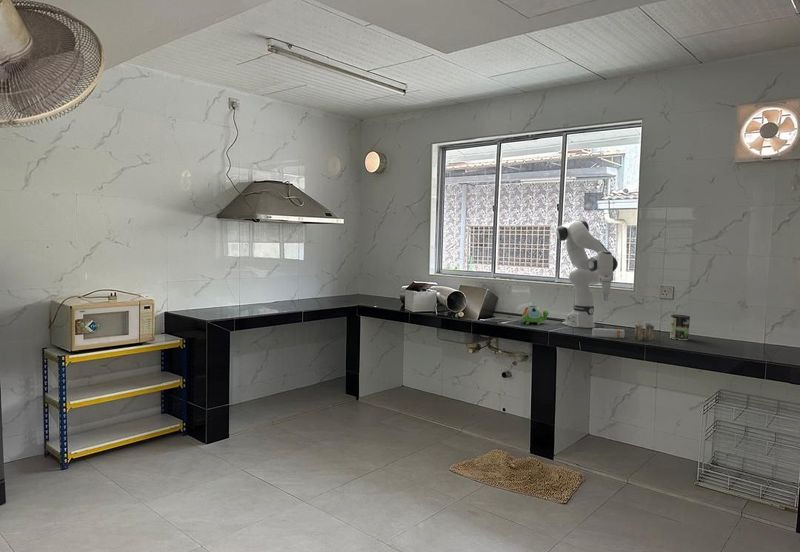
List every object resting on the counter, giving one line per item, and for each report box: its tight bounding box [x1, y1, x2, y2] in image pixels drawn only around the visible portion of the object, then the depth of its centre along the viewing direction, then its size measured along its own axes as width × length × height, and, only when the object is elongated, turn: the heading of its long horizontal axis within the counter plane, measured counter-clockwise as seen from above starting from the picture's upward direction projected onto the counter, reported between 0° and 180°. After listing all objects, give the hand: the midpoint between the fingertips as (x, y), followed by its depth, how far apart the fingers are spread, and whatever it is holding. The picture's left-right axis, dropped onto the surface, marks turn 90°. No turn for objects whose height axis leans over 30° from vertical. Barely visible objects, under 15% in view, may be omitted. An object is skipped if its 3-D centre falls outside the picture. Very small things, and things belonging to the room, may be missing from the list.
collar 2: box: [644, 322, 655, 341], centre depth 333 cm, size 2×11×8 cm, turn 169°
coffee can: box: [669, 314, 691, 341], centre depth 335 cm, size 10×10×14 cm
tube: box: [591, 327, 626, 339], centre depth 338 cm, size 18×5×5 cm, turn 79°
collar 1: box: [634, 322, 644, 341], centre depth 334 cm, size 2×11×8 cm, turn 169°
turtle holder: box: [521, 305, 550, 325], centre depth 382 cm, size 12×18×12 cm
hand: (605, 300), depth 337 cm, fingers open, 8 cm apart
